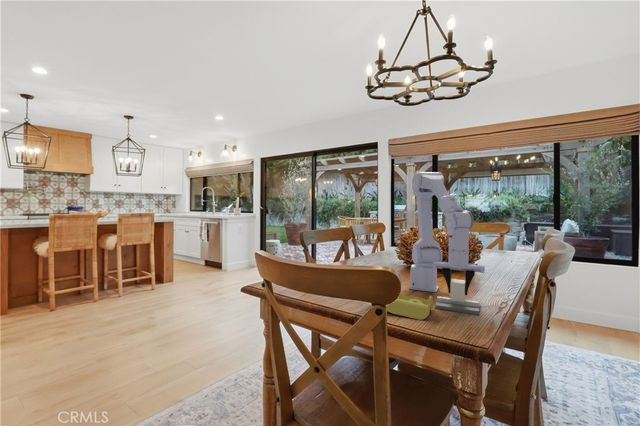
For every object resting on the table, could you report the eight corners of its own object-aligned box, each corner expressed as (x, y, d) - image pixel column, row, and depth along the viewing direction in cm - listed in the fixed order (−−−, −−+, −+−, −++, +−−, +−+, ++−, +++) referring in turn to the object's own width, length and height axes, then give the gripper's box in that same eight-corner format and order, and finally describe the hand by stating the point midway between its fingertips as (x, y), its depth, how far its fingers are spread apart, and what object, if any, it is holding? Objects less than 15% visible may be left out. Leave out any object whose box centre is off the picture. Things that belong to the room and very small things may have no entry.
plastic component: (434, 301, 95) (431, 294, 87) (430, 325, 93) (427, 321, 85) (371, 288, 104) (364, 281, 96) (367, 310, 102) (358, 305, 93)
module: (450, 300, 96) (450, 282, 96) (451, 296, 100) (451, 278, 100) (464, 302, 94) (464, 283, 94) (465, 297, 98) (465, 280, 98)
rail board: (435, 308, 95) (435, 301, 95) (439, 299, 104) (439, 293, 104) (479, 314, 90) (479, 307, 90) (479, 304, 99) (479, 298, 99)
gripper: (432, 250, 96) (431, 293, 97) (484, 253, 90) (484, 300, 90) (435, 247, 103) (434, 288, 103) (484, 250, 96) (484, 294, 96)
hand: (457, 293), depth 97 cm, fingers closed on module, 4 cm apart
